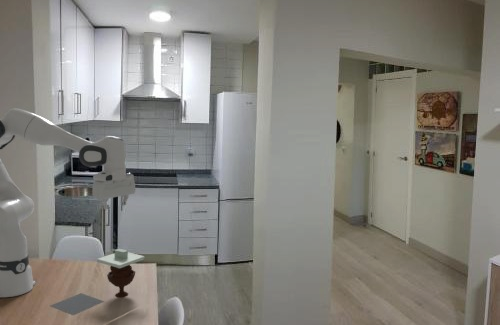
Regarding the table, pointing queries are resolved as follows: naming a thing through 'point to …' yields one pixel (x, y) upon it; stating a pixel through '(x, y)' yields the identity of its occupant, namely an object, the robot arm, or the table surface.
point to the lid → (120, 258)
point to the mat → (77, 304)
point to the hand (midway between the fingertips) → (115, 207)
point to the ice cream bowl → (121, 278)
